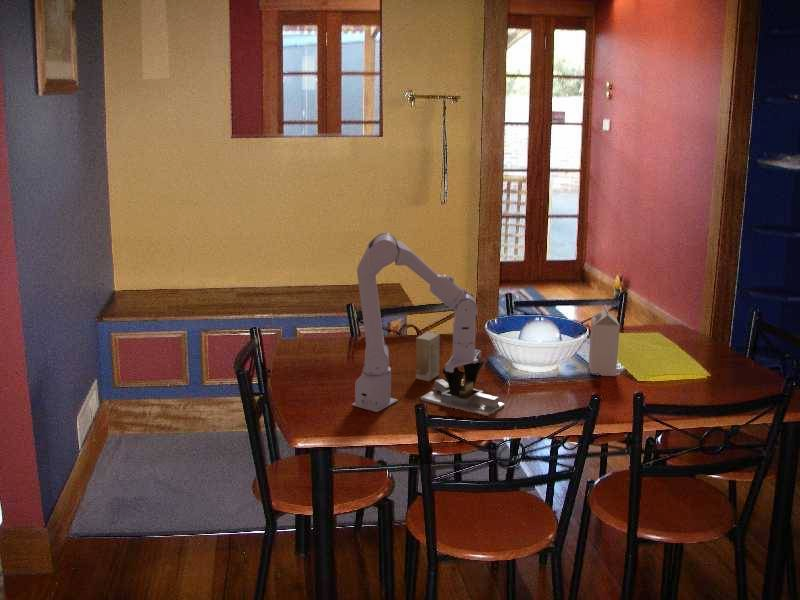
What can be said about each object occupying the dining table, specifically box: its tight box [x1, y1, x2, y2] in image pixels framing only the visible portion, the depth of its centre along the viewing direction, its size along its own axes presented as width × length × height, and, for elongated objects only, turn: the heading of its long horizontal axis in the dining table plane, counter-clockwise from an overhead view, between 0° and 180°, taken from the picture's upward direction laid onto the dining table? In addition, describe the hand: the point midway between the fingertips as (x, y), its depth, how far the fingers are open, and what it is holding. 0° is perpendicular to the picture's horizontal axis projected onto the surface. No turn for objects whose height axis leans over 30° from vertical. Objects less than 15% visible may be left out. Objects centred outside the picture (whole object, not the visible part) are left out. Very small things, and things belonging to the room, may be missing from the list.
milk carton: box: [588, 304, 621, 377], centre depth 266 cm, size 7×7×19 cm
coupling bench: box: [420, 378, 506, 415], centre depth 244 cm, size 9×20×4 cm, turn 55°
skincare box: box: [415, 331, 440, 382], centre depth 261 cm, size 6×4×12 cm
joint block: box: [458, 378, 474, 399], centre depth 243 cm, size 4×4×5 cm
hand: (462, 390), depth 243 cm, fingers open, 7 cm apart
